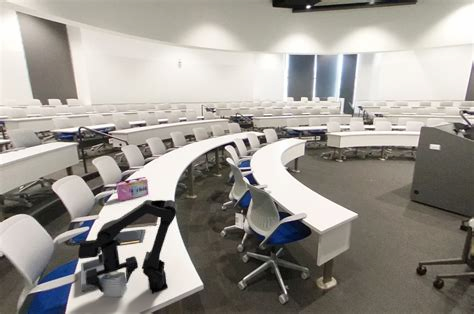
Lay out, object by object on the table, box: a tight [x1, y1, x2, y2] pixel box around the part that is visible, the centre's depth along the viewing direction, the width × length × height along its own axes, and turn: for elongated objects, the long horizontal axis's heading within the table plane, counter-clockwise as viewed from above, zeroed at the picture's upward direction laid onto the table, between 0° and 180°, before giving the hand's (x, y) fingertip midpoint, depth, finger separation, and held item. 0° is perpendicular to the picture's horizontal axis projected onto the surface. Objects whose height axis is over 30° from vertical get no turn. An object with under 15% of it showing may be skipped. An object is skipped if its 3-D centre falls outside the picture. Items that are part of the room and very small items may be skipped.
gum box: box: [115, 176, 150, 202], centre depth 202 cm, size 24×8×14 cm, turn 126°
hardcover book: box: [126, 214, 159, 228], centre depth 163 cm, size 16×23×2 cm
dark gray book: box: [114, 228, 146, 247], centre depth 143 cm, size 20×2×15 cm
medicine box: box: [101, 271, 128, 298], centre depth 102 cm, size 8×4×9 cm, turn 88°
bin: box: [80, 257, 119, 292], centre depth 113 cm, size 14×16×4 cm
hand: (114, 287), depth 102 cm, fingers open, 9 cm apart
